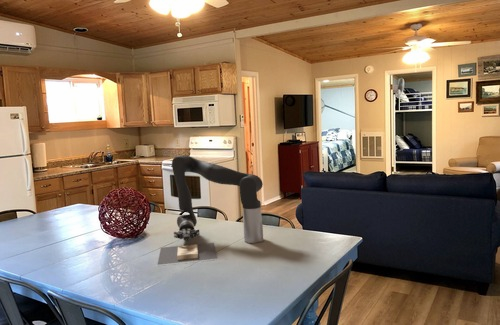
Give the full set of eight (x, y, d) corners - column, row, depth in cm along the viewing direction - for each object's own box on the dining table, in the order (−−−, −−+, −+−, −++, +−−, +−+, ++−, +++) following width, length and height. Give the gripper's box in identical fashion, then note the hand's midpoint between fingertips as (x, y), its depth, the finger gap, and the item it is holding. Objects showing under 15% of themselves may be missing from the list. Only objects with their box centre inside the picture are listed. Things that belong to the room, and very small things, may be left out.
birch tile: (196, 244, 191) (197, 253, 177) (197, 248, 191) (198, 258, 178) (177, 246, 190) (177, 255, 176) (178, 250, 190) (177, 260, 176)
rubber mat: (214, 244, 200) (213, 242, 200) (217, 260, 176) (217, 258, 176) (161, 249, 196) (160, 247, 196) (157, 266, 172) (157, 264, 172)
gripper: (172, 222, 201) (171, 232, 184) (199, 220, 203) (200, 229, 186) (174, 237, 202) (172, 247, 185) (200, 234, 204) (201, 245, 187)
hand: (186, 238), depth 186 cm, fingers closed
